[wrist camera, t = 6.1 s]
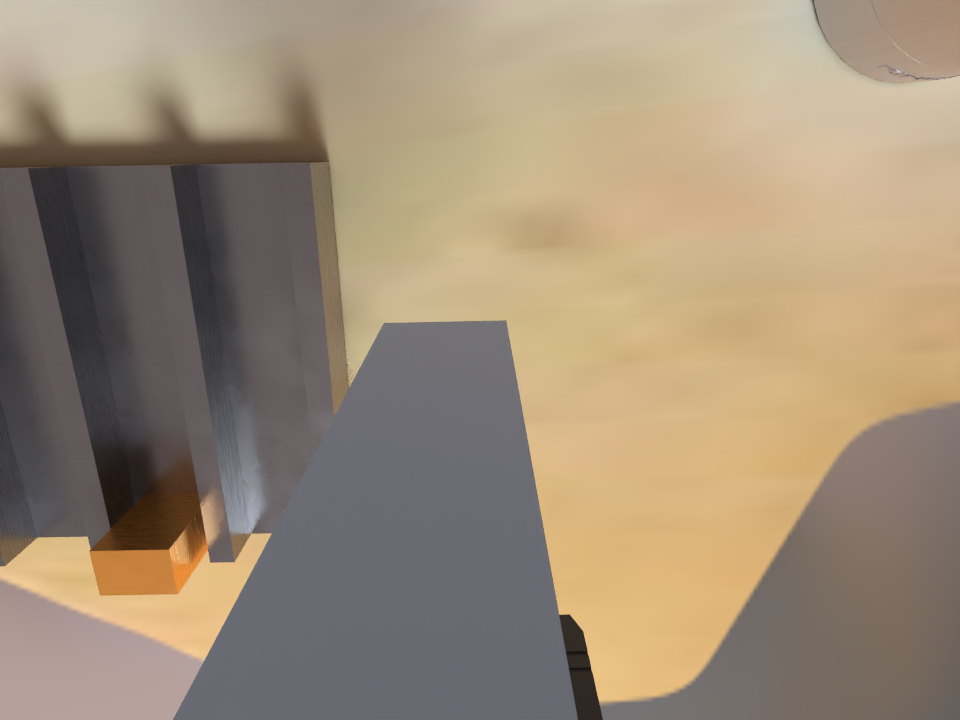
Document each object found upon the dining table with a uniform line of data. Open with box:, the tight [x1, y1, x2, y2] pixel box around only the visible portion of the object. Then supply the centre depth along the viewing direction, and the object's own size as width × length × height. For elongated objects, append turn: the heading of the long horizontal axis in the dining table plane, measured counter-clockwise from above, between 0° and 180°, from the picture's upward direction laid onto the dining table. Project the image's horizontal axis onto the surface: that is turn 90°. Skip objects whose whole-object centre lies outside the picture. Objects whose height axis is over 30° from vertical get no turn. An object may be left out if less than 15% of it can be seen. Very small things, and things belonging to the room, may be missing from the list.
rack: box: [0, 162, 349, 595], centre depth 29 cm, size 19×18×6 cm
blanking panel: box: [173, 321, 578, 720], centre depth 12 cm, size 12×3×12 cm, turn 1°
